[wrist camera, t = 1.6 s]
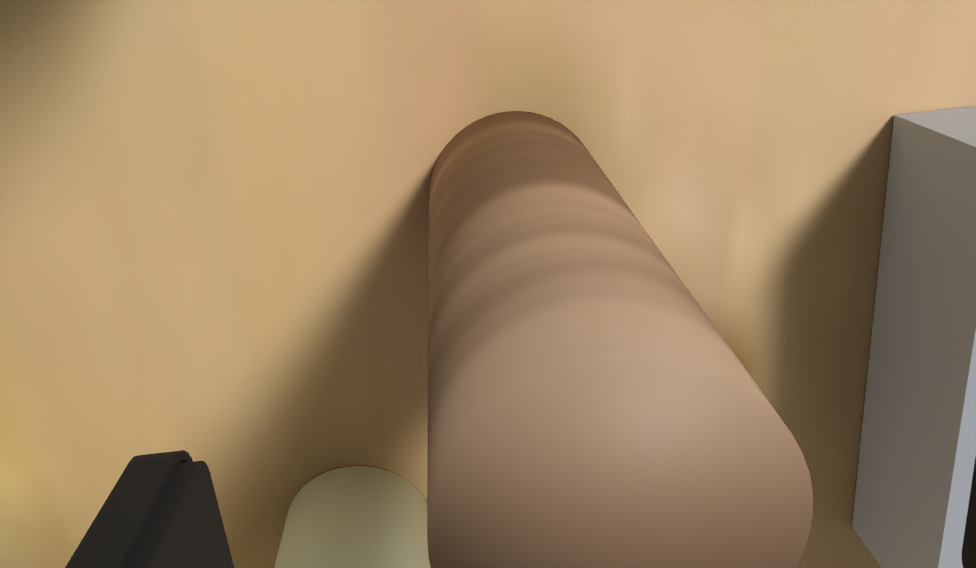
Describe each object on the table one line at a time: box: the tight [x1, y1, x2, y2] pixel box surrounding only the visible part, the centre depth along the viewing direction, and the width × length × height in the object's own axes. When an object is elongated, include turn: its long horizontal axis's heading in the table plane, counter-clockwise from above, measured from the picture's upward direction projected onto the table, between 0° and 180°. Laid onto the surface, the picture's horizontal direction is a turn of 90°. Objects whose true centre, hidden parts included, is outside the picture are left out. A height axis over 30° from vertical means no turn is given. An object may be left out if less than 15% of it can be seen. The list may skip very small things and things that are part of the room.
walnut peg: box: [427, 111, 813, 568], centre depth 14 cm, size 4×4×12 cm
